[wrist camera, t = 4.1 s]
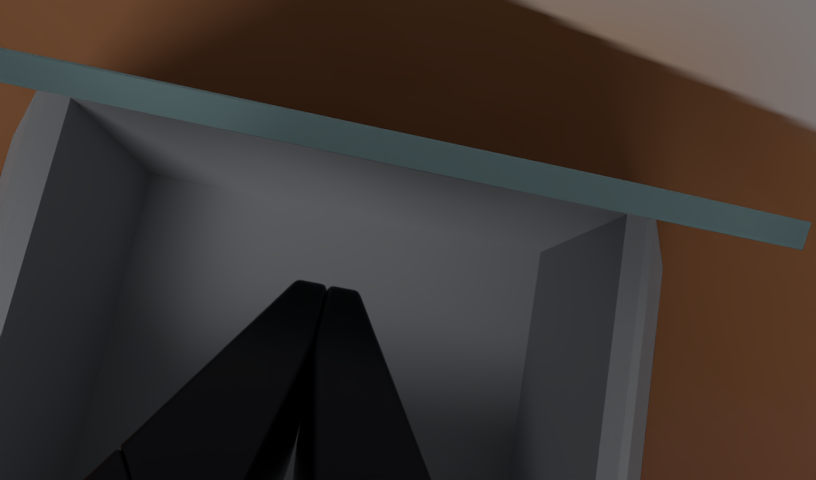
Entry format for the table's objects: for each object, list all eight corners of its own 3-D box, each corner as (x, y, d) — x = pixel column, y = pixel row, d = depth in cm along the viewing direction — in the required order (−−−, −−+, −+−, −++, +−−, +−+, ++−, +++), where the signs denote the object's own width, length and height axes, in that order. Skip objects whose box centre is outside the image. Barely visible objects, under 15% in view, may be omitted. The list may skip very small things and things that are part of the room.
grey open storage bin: (582, 736, 20) (719, 951, 13) (-104, 645, 18) (-380, 836, 11) (636, 260, 22) (774, 223, 15) (46, 141, 21) (-99, 38, 14)
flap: (802, 249, 9) (811, 222, 9) (-159, 48, 8) (-158, 15, 8) (632, 199, 15) (636, 182, 15) (71, 80, 14) (73, 62, 14)
